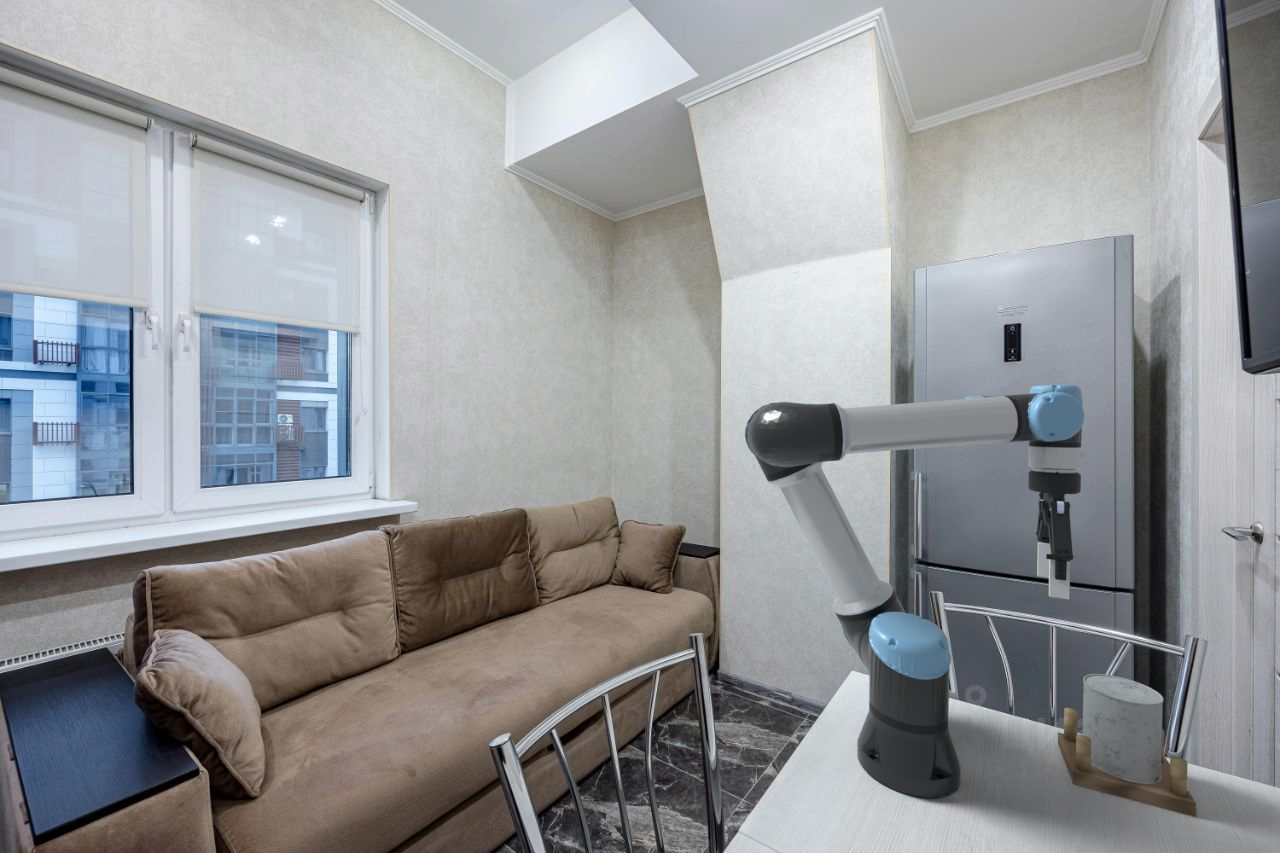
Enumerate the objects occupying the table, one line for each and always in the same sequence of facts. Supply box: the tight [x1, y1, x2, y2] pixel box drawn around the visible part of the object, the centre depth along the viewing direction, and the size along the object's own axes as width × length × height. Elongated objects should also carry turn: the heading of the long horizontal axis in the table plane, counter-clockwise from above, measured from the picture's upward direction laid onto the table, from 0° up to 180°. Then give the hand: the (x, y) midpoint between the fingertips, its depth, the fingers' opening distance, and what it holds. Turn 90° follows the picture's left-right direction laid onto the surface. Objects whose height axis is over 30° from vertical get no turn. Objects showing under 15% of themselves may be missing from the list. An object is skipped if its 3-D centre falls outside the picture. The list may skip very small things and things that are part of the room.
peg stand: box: [1057, 707, 1197, 818], centre depth 86 cm, size 14×12×7 cm
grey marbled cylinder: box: [1082, 673, 1165, 785], centre depth 85 cm, size 10×10×12 cm
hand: (1052, 586), depth 97 cm, fingers open, 13 cm apart
